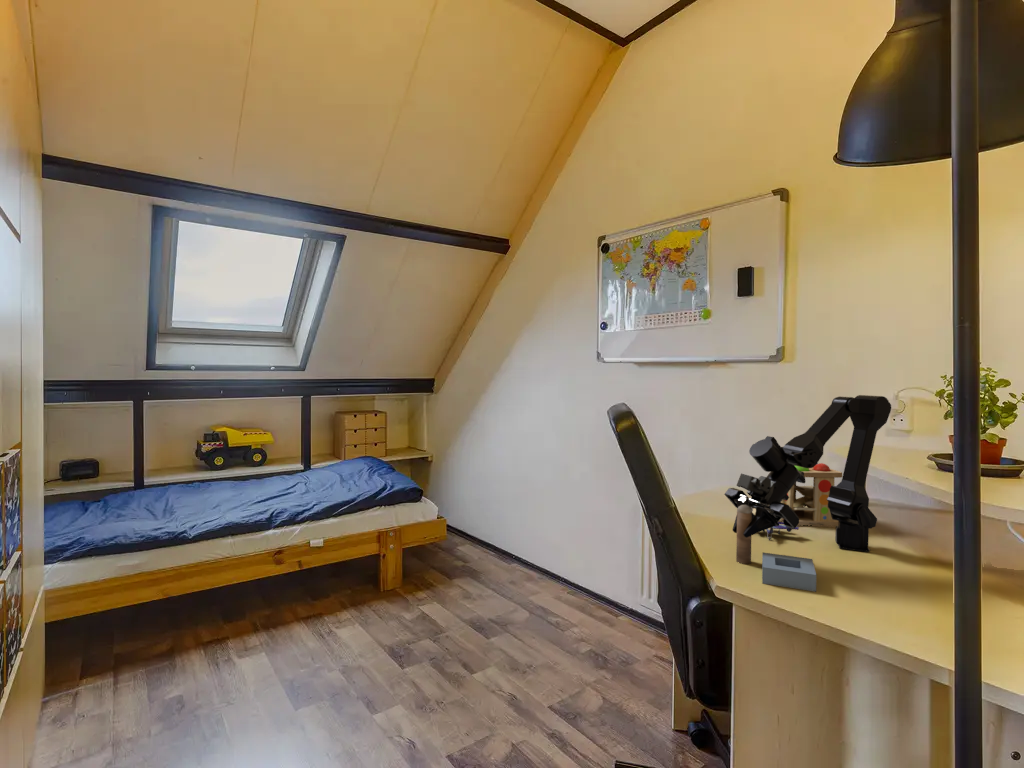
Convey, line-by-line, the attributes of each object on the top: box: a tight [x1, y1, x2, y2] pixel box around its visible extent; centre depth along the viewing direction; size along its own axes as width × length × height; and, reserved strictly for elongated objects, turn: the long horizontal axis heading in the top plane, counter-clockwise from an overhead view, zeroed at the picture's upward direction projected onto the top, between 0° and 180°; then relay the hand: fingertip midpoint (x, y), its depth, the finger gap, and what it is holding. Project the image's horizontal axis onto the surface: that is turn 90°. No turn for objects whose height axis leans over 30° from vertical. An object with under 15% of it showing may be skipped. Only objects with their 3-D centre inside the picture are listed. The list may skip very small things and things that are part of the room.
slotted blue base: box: [761, 552, 817, 593], centre depth 116 cm, size 10×10×4 cm
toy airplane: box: [762, 521, 800, 541], centre depth 145 cm, size 13×14×4 cm
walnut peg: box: [735, 505, 752, 565], centre depth 126 cm, size 3×3×14 cm
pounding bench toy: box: [752, 462, 843, 527], centre depth 161 cm, size 23×14×18 cm, turn 89°
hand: (739, 533), depth 125 cm, fingers closed on walnut peg, 3 cm apart
